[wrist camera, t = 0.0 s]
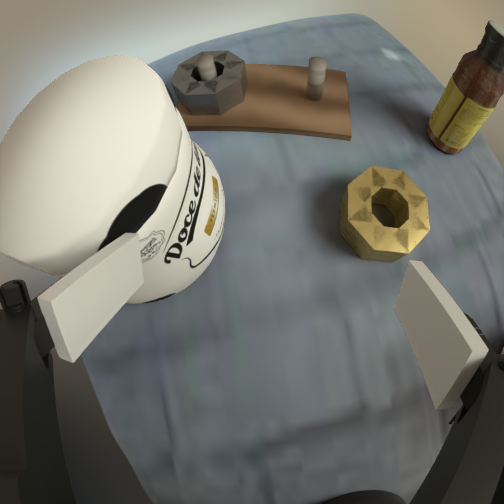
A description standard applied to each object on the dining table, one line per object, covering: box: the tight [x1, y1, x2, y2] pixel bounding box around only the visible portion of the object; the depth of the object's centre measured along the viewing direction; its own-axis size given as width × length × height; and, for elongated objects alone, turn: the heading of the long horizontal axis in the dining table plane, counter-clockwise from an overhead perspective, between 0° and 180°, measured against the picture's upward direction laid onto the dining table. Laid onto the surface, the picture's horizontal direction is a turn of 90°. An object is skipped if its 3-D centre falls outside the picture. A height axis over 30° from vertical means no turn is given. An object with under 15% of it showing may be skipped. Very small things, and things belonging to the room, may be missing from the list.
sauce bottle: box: [427, 20, 504, 154], centre depth 21 cm, size 7×6×20 cm
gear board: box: [177, 54, 352, 141], centre depth 31 cm, size 12×22×7 cm, turn 83°
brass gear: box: [339, 166, 430, 262], centre depth 27 cm, size 9×9×4 cm
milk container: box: [0, 55, 225, 304], centre depth 22 cm, size 17×17×18 cm
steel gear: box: [171, 51, 248, 116], centre depth 32 cm, size 9×9×4 cm
